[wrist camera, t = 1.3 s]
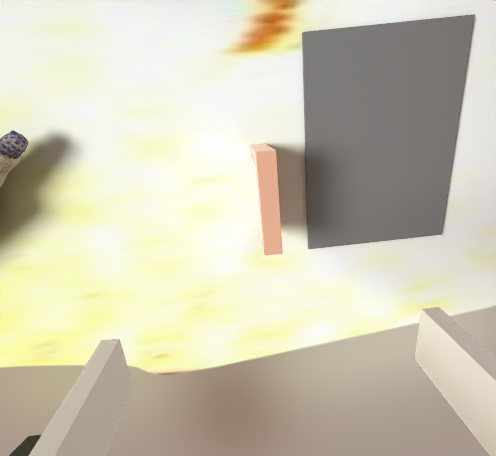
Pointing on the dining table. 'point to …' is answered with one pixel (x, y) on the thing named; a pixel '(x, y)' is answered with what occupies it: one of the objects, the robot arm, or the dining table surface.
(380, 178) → the rubber mat
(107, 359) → the robot arm
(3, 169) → the decorative bottle
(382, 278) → the dining table surface
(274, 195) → the terracotta tile
